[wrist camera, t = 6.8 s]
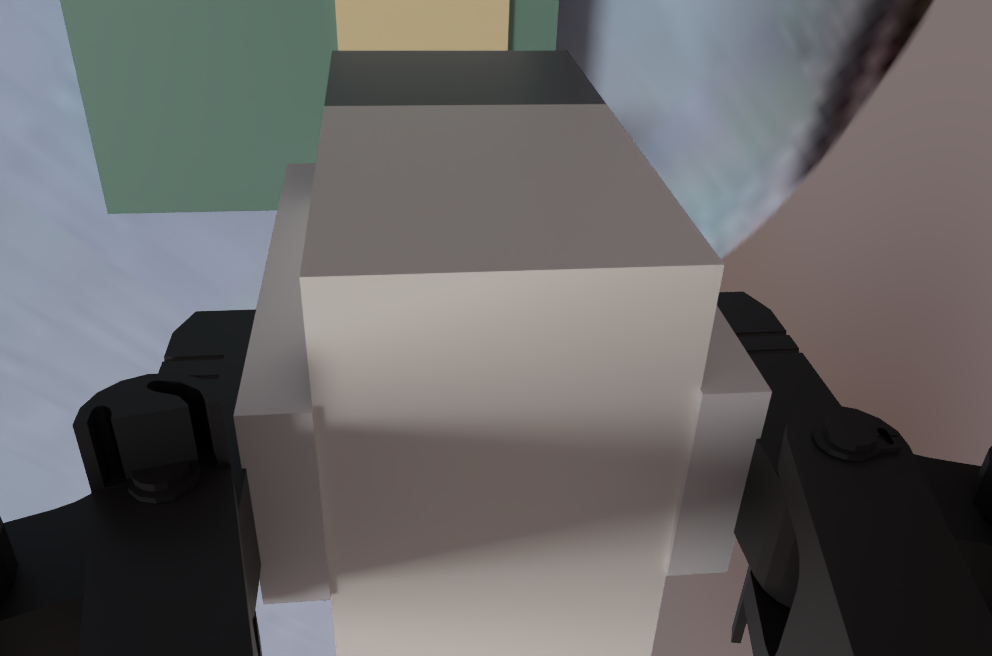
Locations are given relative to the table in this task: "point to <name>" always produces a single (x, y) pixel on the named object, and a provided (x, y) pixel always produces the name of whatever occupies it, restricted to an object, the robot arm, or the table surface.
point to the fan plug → (496, 357)
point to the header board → (246, 84)
